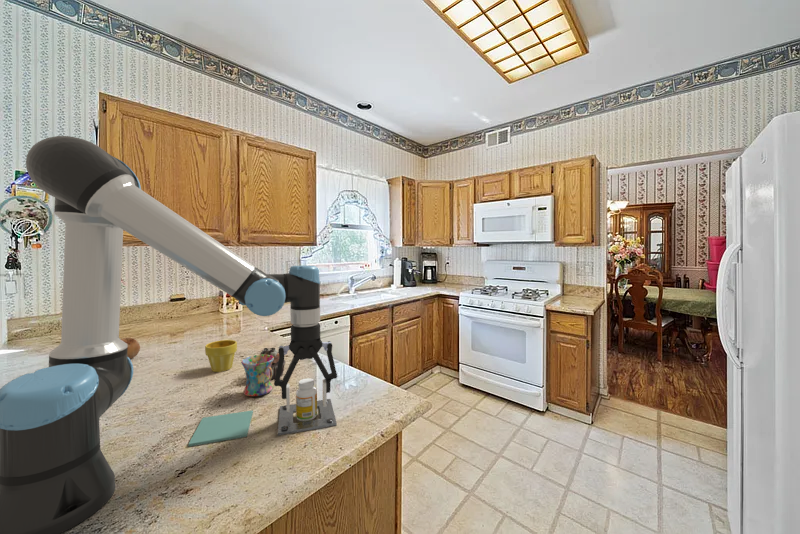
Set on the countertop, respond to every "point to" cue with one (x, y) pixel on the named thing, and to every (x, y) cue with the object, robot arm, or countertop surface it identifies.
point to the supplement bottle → (306, 400)
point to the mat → (222, 428)
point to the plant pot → (221, 354)
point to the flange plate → (289, 427)
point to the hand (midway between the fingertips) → (306, 406)
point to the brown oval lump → (132, 347)
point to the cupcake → (274, 365)
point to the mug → (258, 374)
